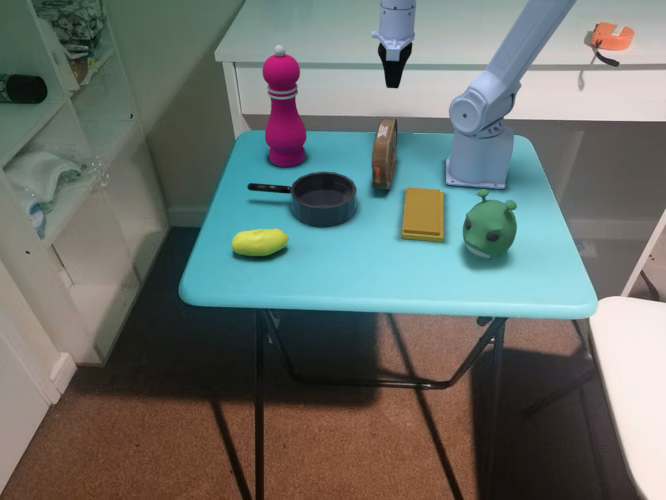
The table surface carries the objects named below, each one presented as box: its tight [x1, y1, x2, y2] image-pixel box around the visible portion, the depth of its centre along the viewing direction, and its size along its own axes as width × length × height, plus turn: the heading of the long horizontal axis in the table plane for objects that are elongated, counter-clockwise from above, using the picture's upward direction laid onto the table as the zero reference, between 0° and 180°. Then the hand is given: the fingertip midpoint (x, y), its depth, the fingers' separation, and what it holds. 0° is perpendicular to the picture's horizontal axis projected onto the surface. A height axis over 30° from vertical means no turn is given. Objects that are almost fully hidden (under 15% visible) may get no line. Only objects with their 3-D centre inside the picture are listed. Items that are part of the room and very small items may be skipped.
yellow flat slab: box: [401, 186, 445, 243], centre depth 82 cm, size 6×12×1 cm, turn 171°
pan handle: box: [246, 182, 292, 195], centre depth 84 cm, size 7×1×1 cm, turn 81°
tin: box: [370, 118, 398, 191], centre depth 89 cm, size 15×3×8 cm, turn 168°
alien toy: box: [462, 188, 518, 260], centre depth 72 cm, size 7×8×10 cm
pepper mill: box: [261, 44, 308, 168], centre depth 90 cm, size 7×7×20 cm
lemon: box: [230, 228, 290, 257], centre depth 75 cm, size 4×8×4 cm, turn 95°
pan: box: [290, 171, 358, 228], centre depth 83 cm, size 10×10×4 cm
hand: (392, 86), depth 95 cm, fingers closed
